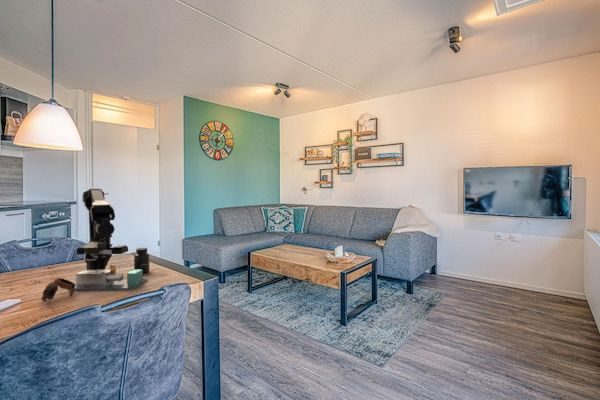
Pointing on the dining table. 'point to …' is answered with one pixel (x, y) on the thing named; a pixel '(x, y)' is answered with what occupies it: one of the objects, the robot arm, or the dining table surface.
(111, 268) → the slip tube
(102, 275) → the tube rig
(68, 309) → the dining table surface
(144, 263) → the supplement bottle
